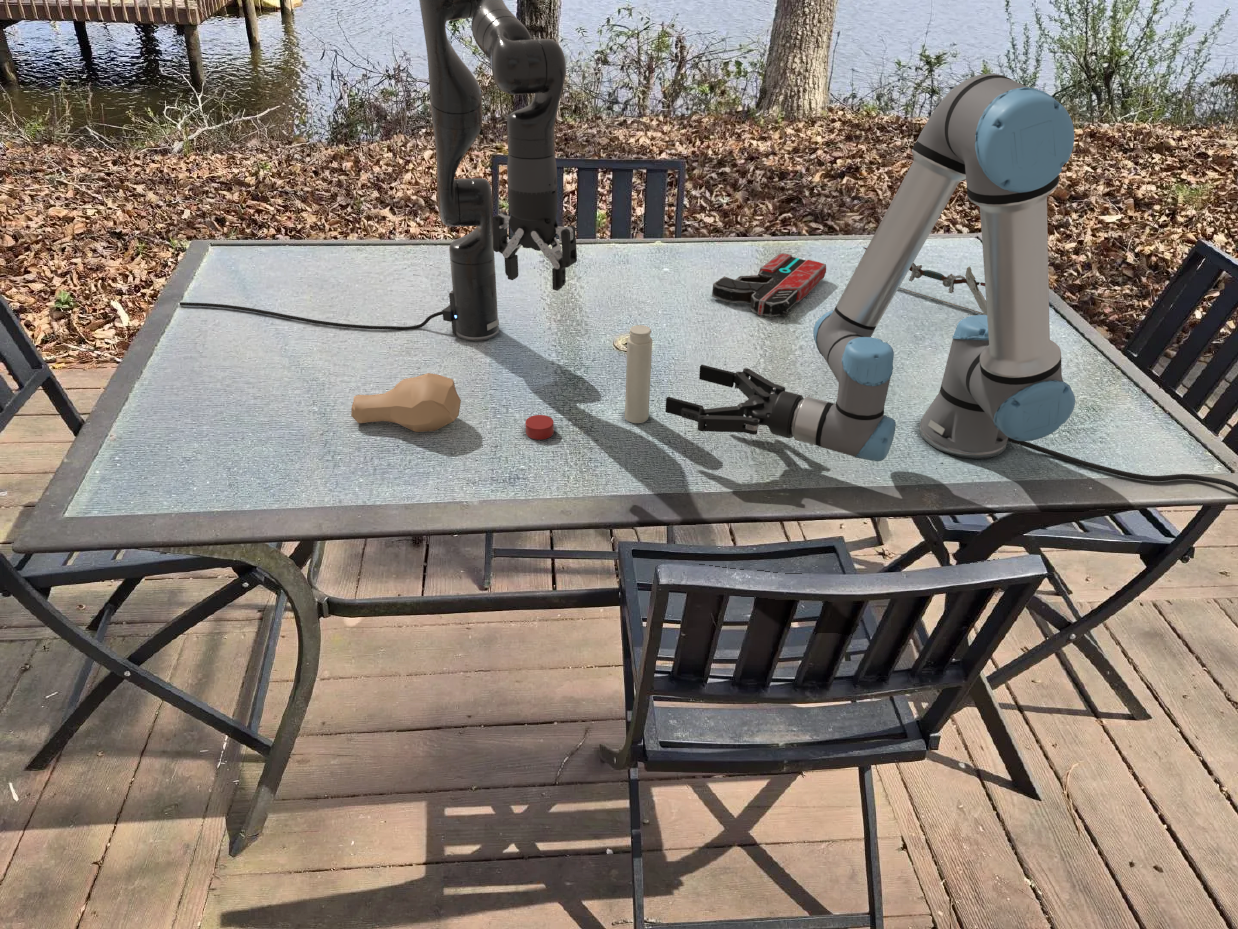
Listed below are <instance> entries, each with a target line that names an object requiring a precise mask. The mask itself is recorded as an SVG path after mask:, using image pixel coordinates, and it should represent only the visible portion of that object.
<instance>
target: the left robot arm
mask: <svg viewBox="0 0 1238 929" xmlns="http://www.w3.org/2000/svg"><path fill="white" fill-rule="evenodd" d="M418 2H419V8H420V14H421V20H422V27H423V34H424V40H425V47H426V56H427V57H426V58H427V68H428V81H429V82H428V83H429V102H430V112H431V121H432V122H431V124H432V130H433V131H432V132H433V138H434V147H435V158H436V159H435V160H436V195H437V208H438V210H437V211H438V215H439V218H440V221H441V222H442V224H443V225H445V226H446V227H454V228H455V227H456V228H459V227H463V228H464V227H475V228H474V229H473V230H472V231H470V232H469V233H468V234H465V235H464V236H461V237H459V238H456V239H455V240H453V241H452V242H451V243H450V245H449V247H448V251H449V263H450V264H449V265H450V275H451V276H450V277H451V286H452V290H451V291H450V292H448V297H449V305H448V306H446V307H444V308H443V309H442V310H440V311H438V312H437V311H436V312H435V313H432V314H430V315H429V316H427V317H426V318H425V319H424V320H423V321H422V322H421V323H419V324H415V325H412V326H410V325H409V326H395V325H364V324H353V323H341V322H331V321H325V320H318V319H311V318H305V317H301V316H295V315H290V314H285V313H281V312H275V311H270V310H263V309H258V308H254V307H253V308H252V307H247V306H239V305H231V304H221V303H210V302H187V301H185V302H183V301H181V302H180V301H179V306H183V307H184V306H186V307H206V308H207V307H208V308H222V309H230V310H239V311H244V312H252V313H258V314H264V315H267V316H273V317H278V318H282V319H283V318H284V319H289V320H295V321H299V322H304V323H311V324H316V325H324V326H332V327H338V328H339V327H340V328H349V329H364V330H395V331H396V330H397V331H408V330H417V329H421V328H423V327H425V326H426V325H427V324H428V322H430V320H432V319H434V318H436V317H439V316H442V319H443V321H445V322H448V323H449V322H450V323H451V332H452V334H453V335H456V336H457V337H458V338H460V339H462V340H464V341H470V342H479V341H481V342H482V341H486V340H487V341H488V340H491V339H493V338H494V337H495V338H496V337H497V335H499V333H500V327H499V325H500V319H499V312H498V311H499V310H498V296H497V295H498V294H497V293H498V292H497V276H496V275H497V274H496V261H495V259H496V258H495V253H500V254H501V255H502V256H503V258H504V273H505V276H507V280H510V281H514V280H516V279H517V278H519V255H518V254H517V252H518V251H519V250H520V248H521V247H522V248H524V249H532V250H533V251H537V252H540V251H541V252H542V254H543V256H544V257H545V258H547V259H548V260H549V262H550V263H551V265H552V266H553V268H552V269H551V275H552V278H551V279H552V280H551V282H552V283H551V284H552V290H553V291H557V292H558V291H559V290H561V289H562V288H563V287H564V286H565V285H566V283H567V281H566V279H567V278H566V275H567V274H566V273H567V272H566V270H567V269H566V268H570V267H571V266H572V265H573V264H576V263H577V262H578V251H577V234H576V227H575V226H574V225H569V226H561V225H560V226H559V224H558V221H557V214H558V170H557V169H558V168H557V161H556V140H555V139H556V136H555V135H556V134H555V130H556V129H555V128H556V127H555V125H556V119H557V115H558V110H559V106H560V100H561V96H562V94H563V89H564V85H565V81H566V75H567V61H566V56H565V53H564V50H563V49H562V47H561V46H560V44H559V43H558V42H557V41H556V40H554V39H550V38H536V39H532V36H531V33H530V32H529V30H528V29H527V27H526V26H525V25H524V24H523V23H522V21H520V20H519V18H517V17H516V15H515V14H514V13H513V12H512V11H511V10H510V9H509V8H508V7H507V5H506V4H505V2H504V0H418ZM465 19H471V33H472V37H473V39H474V42H475V43H476V45H477V46H478V48H479V49H480V51H481V52H482V53H483V54H484V55H485V56H486V58H487V59H488V61H489V63H490V67H491V72H492V79H493V80H494V84H495V86H496V87H497V88H498V90H499V91H501V92H503V93H505V94H508V95H511V96H518V95H530V94H535V95H534V97H533V99H532V101H531V102H530V104H528V105H526V106H525V107H523V108H519V109H517V110H514V111H512V112H511V113H510V114H509V115H508V116H507V119H506V136H507V164H506V170H507V171H506V175H507V176H506V178H507V194H508V195H507V198H508V212H509V214H510V215H508V214H507V212H506V211H502V212H500V213H498V214H496V215H494V212H493V211H494V204H493V203H494V201H493V190H492V187H491V184H490V182H489V181H488V179H486V178H483V177H482V178H481V177H479V178H478V177H476V178H475V177H474V178H455V177H456V174H457V171H458V168H459V166H460V164H461V162H462V160H463V159H464V157H465V156H466V154H467V153H468V152H469V150H470V149H471V147H472V146H473V144H474V143H475V142H476V140H477V138H478V136H479V134H480V132H481V129H482V127H483V98H482V90H481V86H480V85H479V82H478V81H477V79H476V76H474V74H473V73H472V71H471V70H470V69H469V67H468V66H467V65H466V64H465V63H464V61H463V60H462V58H461V57H460V56H459V55H458V53H457V52H456V50H455V49H454V47H453V45H452V44H451V42H450V40H449V38H448V34H447V28H446V25H447V22H449V21H457V20H465ZM508 228H509V229H510V230H511V231H512V233H513V235H512V236H511V239H510V240H509V241H508ZM557 236H558V238H556V237H557ZM558 240H559V241H558ZM560 242H561V244H560ZM549 246H551V248H550V247H549Z"/></svg>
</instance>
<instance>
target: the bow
mask: <svg viewBox="0 0 1238 929" xmlns="http://www.w3.org/2000/svg"><path fill="white" fill-rule="evenodd" d="M863 249H864V250H866V249H867V247H863ZM922 268H923V265H922V264H920V265H919V264H918V265H917V264H916V263H915V262H913V264H912V266H911V267H910V269H909V271H910V272H911V274H910V276H909V279H908V282H914V281H915V279H920V278H922V277H923V276H924V277H927V278H930V279H933V280H937V281H940V282H941V283H942V285H943V286H944V287H945V288H948V294H953V293H954V292H955V285H959V284H960V285H961V284H966V285H967V287H968V289H969V290H970V291H971V294H972V295H973V298H974V300H975V301H976V303H977V305H978V308H979V309H980V311H981V312H980V311H978V310H974V309H971V308H968V307H964V306H961V305H958V304H955V303H952V302H948V301H946V300H945V301H944V300H942V299H938V298H935V297H932V296H928V295H925V294H922V293H920V292H919V293H918V292H915V291H913V290H908V289H906V288H903V287H899V289H900V290H904V291H906V292H910V293H913V294H917V295H919V296H922V297H926V298H930V299H933V300H936V301H938V302H939V301H940V302H942V303H946V304H949V305H953V306H955V307H959V308H963V309H965V310H967V311H968V310H969V311H972V312H975V313H979V314H980V315H987V305H986V297H985V296H984V295H983V293H982V291H980V289H979V285H980V286H982V287H985V282H980V281H977V280H976V277H975V275H974V274H973V272H972V267H971V266H967V267H966V271H965V276H963V275H961V274H960V275H954V274H953V273H950V274H948V275H947V276H945V275H944V274H943V273H941V272H938V271H934V270H931V269H924V270H923V269H922Z"/></svg>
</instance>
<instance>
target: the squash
mask: <svg viewBox="0 0 1238 929" xmlns="http://www.w3.org/2000/svg"><path fill="white" fill-rule="evenodd" d="M461 404H462V399H461V398H460V395H459V394H458V392H457V388H456V385H455V381H454V379H453V378H449V377H447V376H443V375H441V374H437V373H431V372H427V373H425V374H424V373H423V374H420V375H417V376H414V377H413V376H412V377H407V378H403V379H402V380H400V381H399V382H397V383H396V384H395V386H393V388H392V389H390V390H388V391H386V392H384V393H375V394H357V395H354V396H353V401H352V404H351V409H350V410H351V412H350V414H351V416H350V417H352V419H353V420H354V421H355V422H356V424H366V423H372V422H387V423H394V424H398V425H400V426H402V427H404V428H406V429H408V430H410V431H412V432H415V433H422V432H423V433H425V432H435V431H438V430H439V429H442V428H444V427H445V426H447V425H449V424H452V423H453V422H455V421H456V419H457V418H458V416H459V415H460V409H461Z"/></svg>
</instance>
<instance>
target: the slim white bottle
mask: <svg viewBox="0 0 1238 929" xmlns="http://www.w3.org/2000/svg"><path fill="white" fill-rule="evenodd" d="M651 333H652V329H651V327H649V326H647V325H643V324H635V325H633V326H631V327H630V328H629V336H628V338H627V340H626V368H625V399H624V419H625V420H626V421H627V422H629V423H632V424H643V423H645V422H647V421H648V420H649V416H650V398H651V396H650V395H651V379H652V378H651V376H652V358H653V357H652V356H653V338H652V337H651Z"/></svg>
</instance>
